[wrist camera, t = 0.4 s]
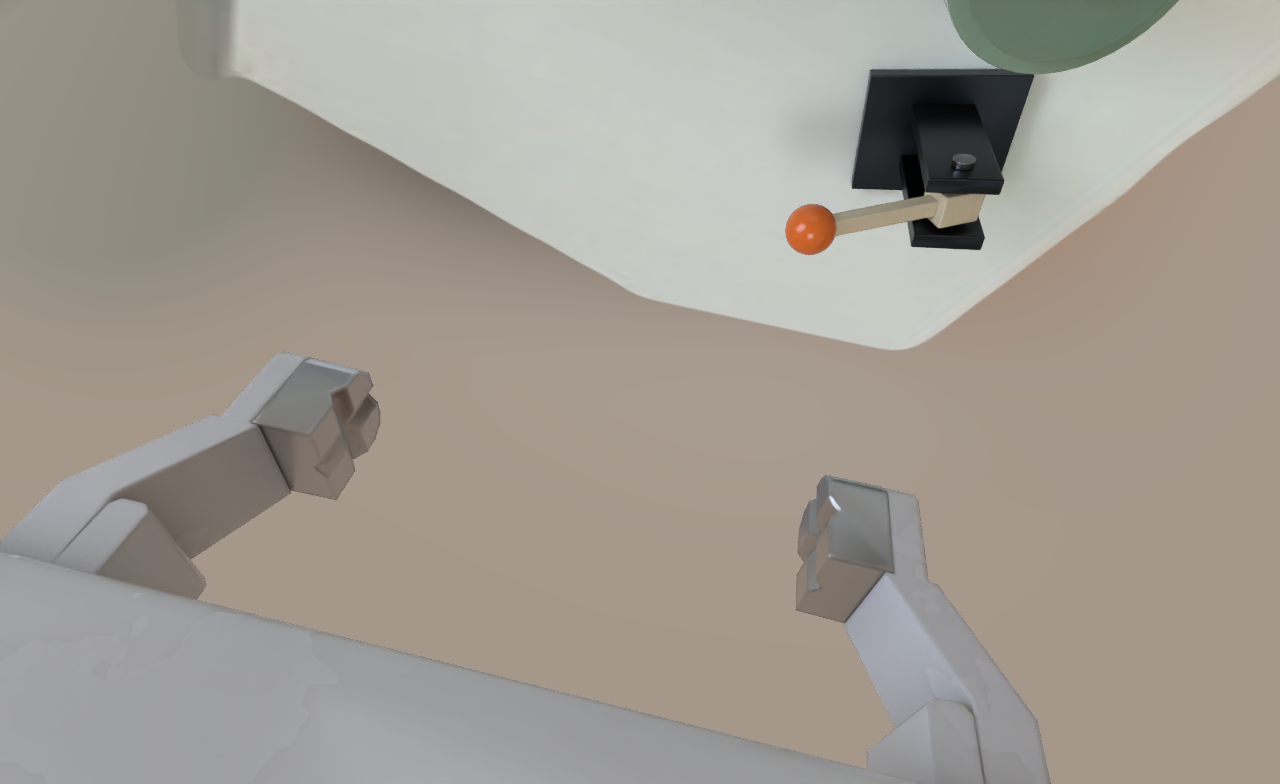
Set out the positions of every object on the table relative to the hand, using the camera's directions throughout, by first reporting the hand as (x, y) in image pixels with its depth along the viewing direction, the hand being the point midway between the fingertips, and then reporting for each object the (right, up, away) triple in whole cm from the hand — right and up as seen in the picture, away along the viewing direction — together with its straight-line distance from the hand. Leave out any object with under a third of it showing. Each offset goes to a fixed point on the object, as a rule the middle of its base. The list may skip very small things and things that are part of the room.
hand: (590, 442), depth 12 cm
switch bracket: (+24, +21, +39) cm, 50 cm away
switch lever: (+16, +14, +32) cm, 39 cm away
